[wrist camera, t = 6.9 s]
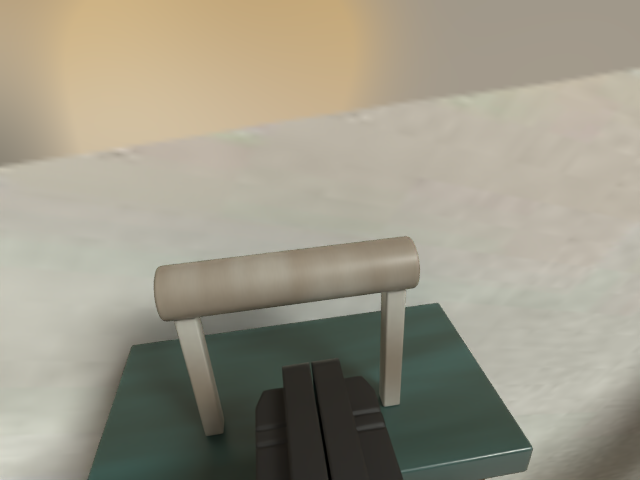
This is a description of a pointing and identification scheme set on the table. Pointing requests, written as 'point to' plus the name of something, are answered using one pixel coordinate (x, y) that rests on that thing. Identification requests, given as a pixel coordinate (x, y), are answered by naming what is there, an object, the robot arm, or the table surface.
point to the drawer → (294, 348)
